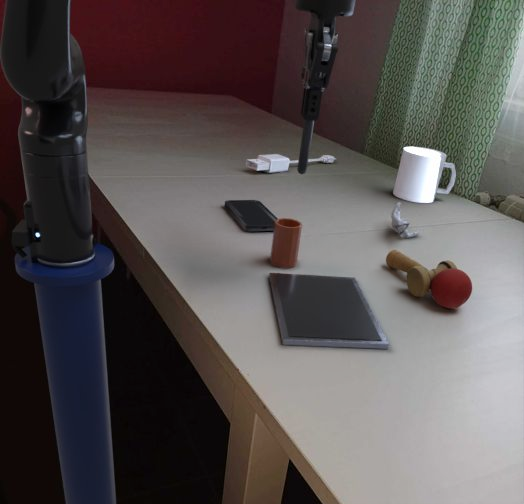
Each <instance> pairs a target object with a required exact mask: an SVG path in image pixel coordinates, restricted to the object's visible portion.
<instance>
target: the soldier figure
mask: <svg viewBox="0 0 524 504" xmlns="http://www.w3.org/2000/svg"><path fill="white" fill-rule="evenodd" d="M401 204H402V203H401V202H397V203H395V206H394V207H393V209H392V212H391V215H390V217H391V220H392V221H391V223H390V226H391V228H392V229H393V231H394V232H395V233H398V236H399V237H400V236H402V237H404V238H405V239H409V238H413V237H417V236H419V235H420V231H418V230H417V231H415V232H412V233H409V231H408V227H409V226H410V222H408V218H407V217H403V218H401V210H402V208H400V207H401V206H400V205H401Z"/></svg>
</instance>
